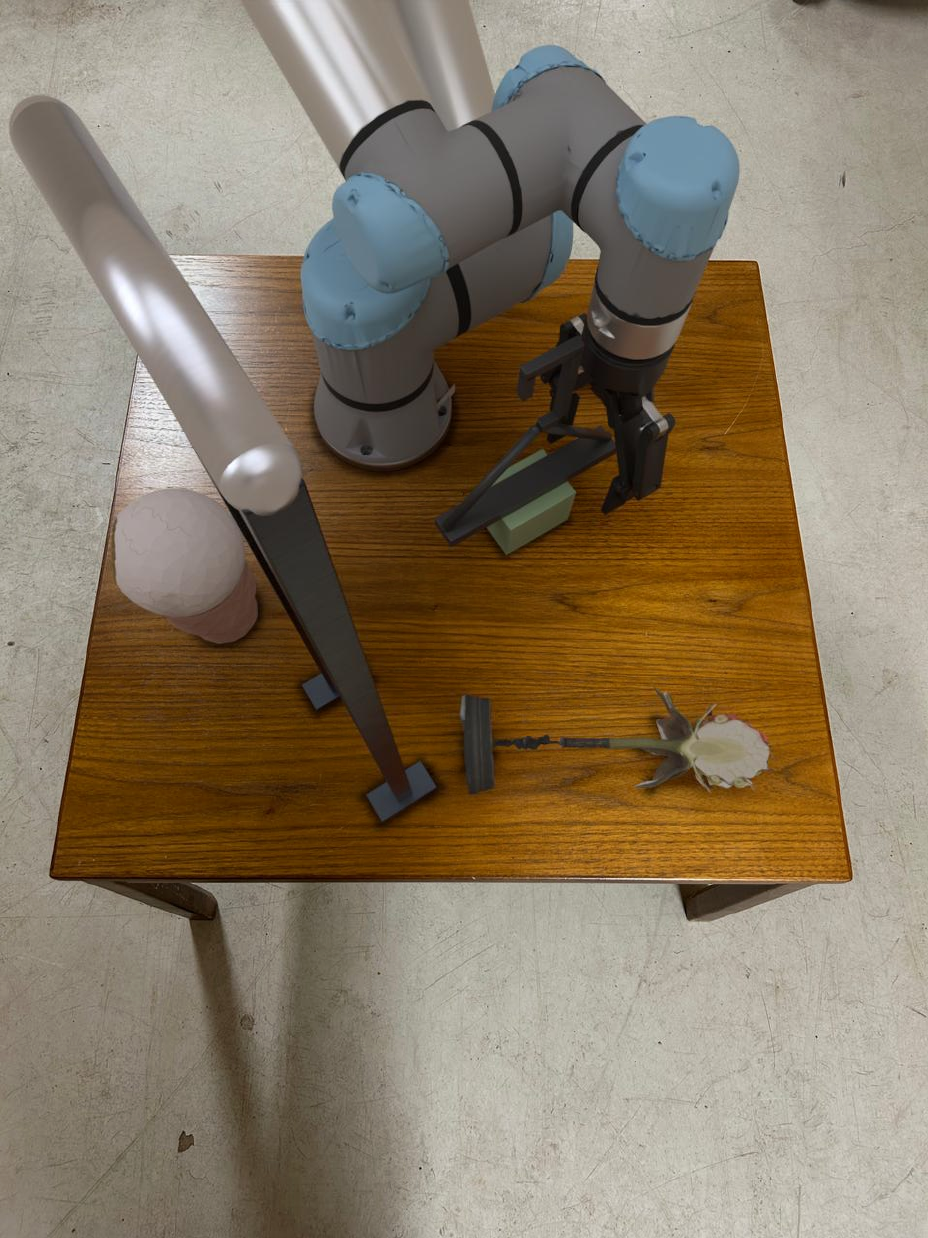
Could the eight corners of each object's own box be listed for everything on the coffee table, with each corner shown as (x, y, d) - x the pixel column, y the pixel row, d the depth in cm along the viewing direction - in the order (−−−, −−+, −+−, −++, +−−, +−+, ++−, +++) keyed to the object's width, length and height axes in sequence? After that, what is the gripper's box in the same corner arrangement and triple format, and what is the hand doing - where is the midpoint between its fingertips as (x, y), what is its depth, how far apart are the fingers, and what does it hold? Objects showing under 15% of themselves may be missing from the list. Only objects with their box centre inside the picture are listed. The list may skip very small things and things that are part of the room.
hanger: (449, 548, 76) (449, 429, 56) (433, 525, 77) (428, 400, 57) (616, 453, 80) (670, 311, 60) (599, 431, 81) (647, 285, 61)
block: (475, 512, 84) (477, 484, 78) (536, 477, 85) (542, 448, 80) (506, 555, 82) (510, 530, 77) (567, 519, 84) (576, 492, 78)
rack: (303, 687, 77) (-98, 110, 20) (356, 656, 78) (114, 30, 22) (382, 823, 73) (153, 568, 16) (437, 788, 74) (400, 437, 17)
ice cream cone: (158, 585, 80) (70, 489, 62) (260, 550, 82) (204, 446, 63) (186, 678, 77) (101, 608, 58) (291, 640, 79) (242, 560, 60)
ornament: (742, 695, 77) (777, 671, 69) (756, 796, 74) (794, 783, 66) (460, 698, 77) (462, 674, 69) (462, 800, 74) (463, 787, 65)
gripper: (516, 253, 64) (499, 412, 86) (679, 448, 58) (618, 568, 79) (589, 216, 66) (555, 381, 87) (756, 404, 60) (676, 532, 81)
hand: (585, 470), depth 83 cm, fingers open, 9 cm apart
